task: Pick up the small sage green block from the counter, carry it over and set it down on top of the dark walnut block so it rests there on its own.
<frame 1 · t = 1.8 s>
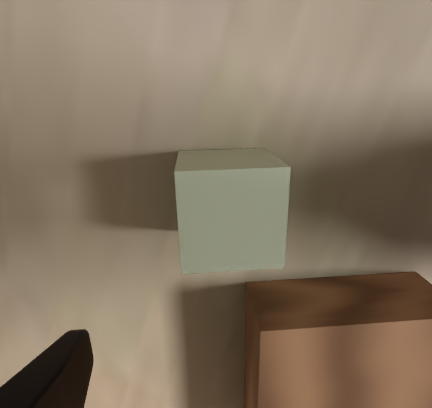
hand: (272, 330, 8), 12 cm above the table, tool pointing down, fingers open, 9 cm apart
walnut block: (321, 342, 24), on the table
sage green block: (222, 190, 19), on the table
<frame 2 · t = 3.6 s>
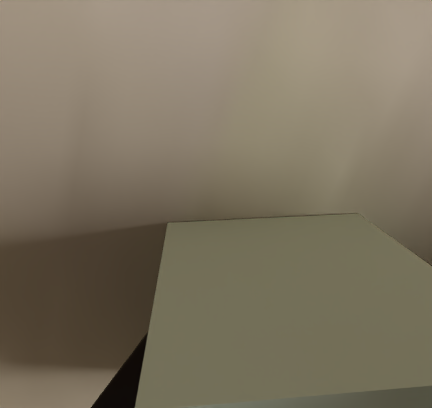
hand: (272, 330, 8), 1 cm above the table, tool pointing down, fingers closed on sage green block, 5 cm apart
sage green block: (262, 298, 9), on the table, touching gripper
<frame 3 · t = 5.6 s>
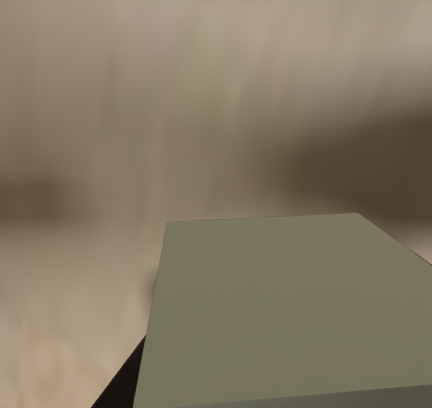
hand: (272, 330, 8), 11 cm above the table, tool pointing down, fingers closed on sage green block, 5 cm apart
sage green block: (261, 298, 9), point 10 cm above the table, touching gripper
when the fingers open (7 cm above the table, at t = 7.9 s): sage green block drops 1 cm, resting on walnut block.
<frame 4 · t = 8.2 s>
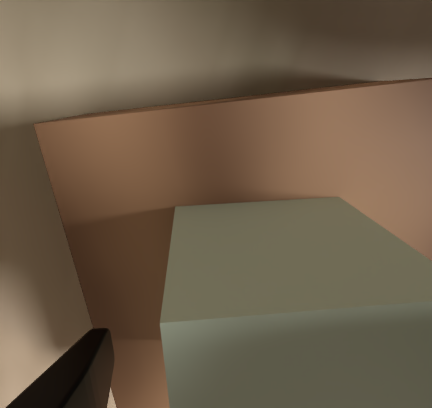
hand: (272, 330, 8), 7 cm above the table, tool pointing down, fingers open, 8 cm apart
walnut block: (244, 227, 15), on the table, touching sage green block
sage green block: (257, 273, 10), point 5 cm above the table, touching walnut block
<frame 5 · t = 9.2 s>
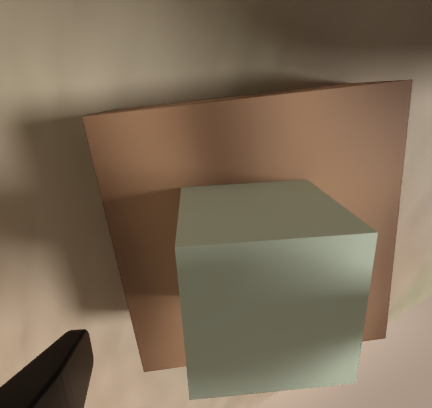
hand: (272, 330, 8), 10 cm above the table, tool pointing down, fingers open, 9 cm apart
walnut block: (241, 206, 18), on the table, touching sage green block
sage green block: (245, 240, 13), point 5 cm above the table, touching walnut block
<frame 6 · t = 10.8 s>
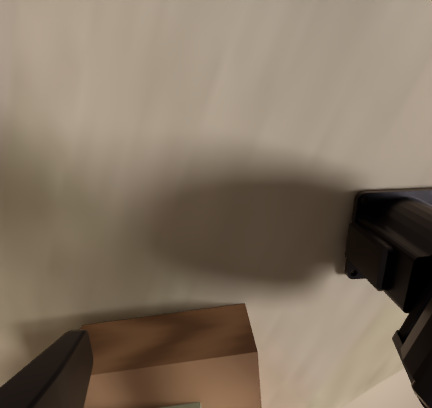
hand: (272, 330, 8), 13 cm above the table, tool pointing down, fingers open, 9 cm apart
walnut block: (176, 371, 25), on the table, touching sage green block
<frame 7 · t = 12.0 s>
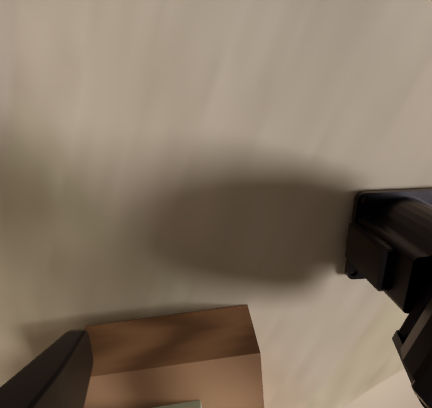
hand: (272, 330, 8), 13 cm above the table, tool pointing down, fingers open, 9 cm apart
walnut block: (178, 371, 25), on the table, touching sage green block
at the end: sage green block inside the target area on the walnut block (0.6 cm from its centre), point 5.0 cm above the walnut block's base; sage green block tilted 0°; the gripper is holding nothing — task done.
